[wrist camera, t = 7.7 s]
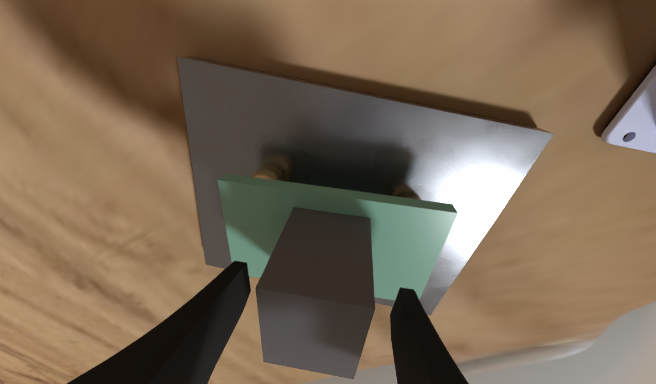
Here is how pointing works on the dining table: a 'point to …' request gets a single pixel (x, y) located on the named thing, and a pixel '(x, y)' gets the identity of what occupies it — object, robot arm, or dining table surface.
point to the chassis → (350, 152)
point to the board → (389, 232)
